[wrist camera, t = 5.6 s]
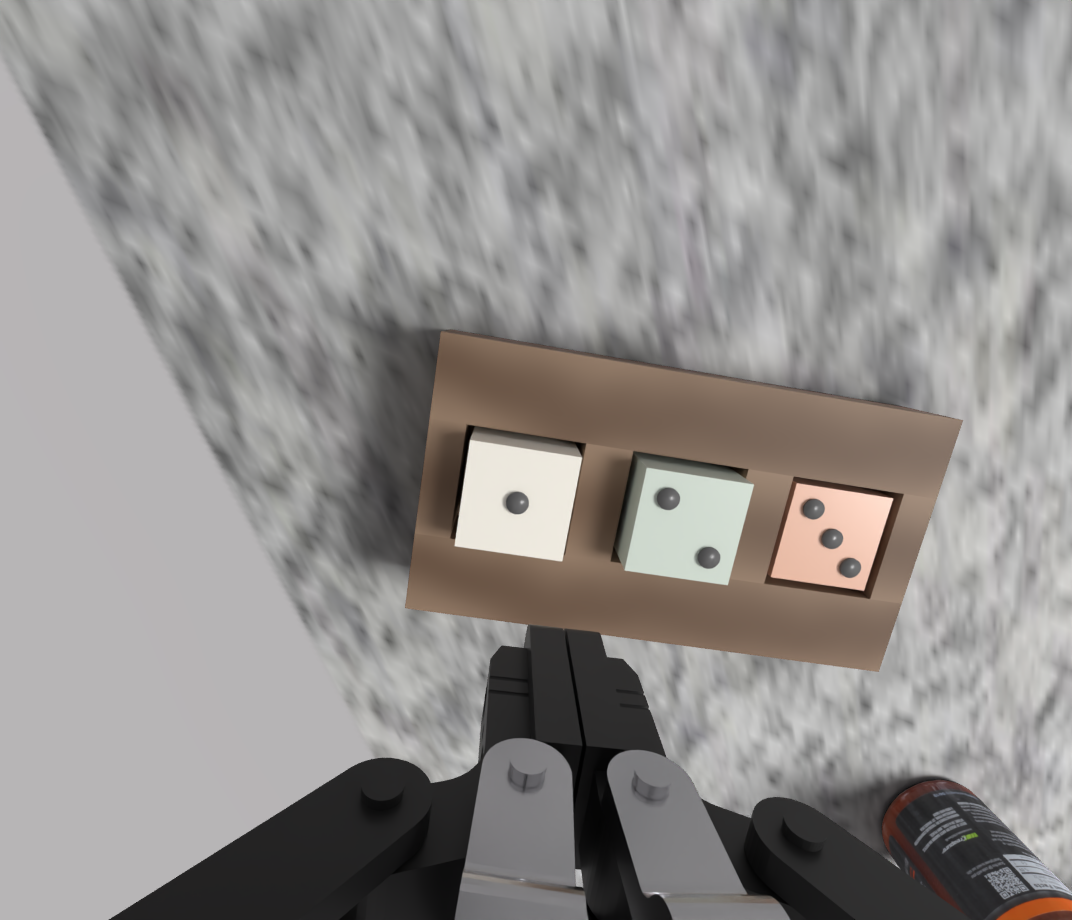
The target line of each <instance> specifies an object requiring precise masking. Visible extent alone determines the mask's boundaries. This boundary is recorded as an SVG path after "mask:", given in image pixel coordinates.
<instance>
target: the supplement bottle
mask: <svg viewBox="0 0 1072 920" xmlns="http://www.w3.org/2000/svg"><path fill="white" fill-rule="evenodd" d="M882 836H883V840H884V843H885V846H886V848H887V849H888V851H889V852H890V854H891V855H892V857H893V859H894V860H895V862H896V863H897V865H898V866H899V868H900V869H901V870H902V871H904V872H905V873H906V874H908V875H909V876H911V877H912V878H913V879H915V880H916V881H918V882H919V883H921V884H922V885H923V886H925V887H926V888H928V889H929V890H930V891H932V892H933V893H935V894H936V895H937V896H939V897H940V898H942V899H943V900H945V901H946V902H947V903H949V904H950V905H952V906H953V907H954V908H956V909H957V910H959V911H960V912H961V913H963V914H964V915H966V916H967V917H969V918H970V919H971V920H1072V892H1071V891H1070V890H1069V889H1068V888H1067V887H1066V886H1065V885H1064V884H1063V883H1062V882H1061V881H1060V880H1059V879H1058V878H1057V877H1056V876H1055V875H1054V874H1053V873H1052V872H1051V871H1050V870H1049V869H1048V868H1047V867H1046V866H1045V865H1044V864H1043V863H1042V862H1041V861H1040V860H1039V859H1038V858H1037V857H1036V856H1035V855H1034V854H1033V853H1032V852H1031V851H1030V850H1029V849H1028V848H1027V847H1026V846H1025V845H1024V844H1023V842H1022V841H1020V840H1019V839H1018V837H1017V836H1016V835H1015V834H1014V833H1012V831H1011V830H1010V829H1009V828H1008V827H1007V826H1006V825H1005V824H1004V823H1003V822H1002V821H1001V820H1000V819H999V818H998V817H997V816H996V815H995V814H994V813H993V812H992V811H991V810H990V809H989V808H988V807H987V806H986V805H985V804H984V803H983V802H982V801H981V800H980V799H979V798H977V796H976V795H974V794H973V793H972V792H971V791H970V790H969V789H967V788H966V787H964V786H962V785H960V784H958V783H954V782H951V781H945V780H933V781H925V782H922V783H919V784H916V785H914V786H912V787H910V788H908V789H907V790H905V791H904V792H902V793H901V794H899V796H898V797H897V798H895V800H894V801H893V802H892V803H891V805H890V806H889V808H888V810H887V812H886V813H885V816H884V819H883V823H882Z"/></svg>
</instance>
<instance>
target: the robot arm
mask: <svg viewBox="0 0 1072 920" xmlns="http://www.w3.org/2000/svg"><path fill="white" fill-rule="evenodd" d="M643 693H644V692H643V689H642V686H641V683H640V680H639V677H638V675H637V674H636V673H635V672H634V671H633V669H632V668H631V667H630V666H629V665H628V664H627V663H626V662H625V661H624V660H623V659H618V658H609V657H607V656H606V653H605V649H604V645H603V642H602V638H601V635H600V633H599V632H594V631H585V630H576V629H568V628H565V629H564V630H563V628H558V627H549V626H541V625H532V624H529V625H528V627H527V632H526V637H525V644H524V648H519V647H510V646H501V647H500V648H499V649H498V651H497V652H496V653H495V654H494V655H493V657H492V658H491V660H490V666H489V673H488V680H487V687H486V694H485V701H484V707H483V714H482V721H481V732H480V746H479V760H478V764H477V765H476V766H475V767H474V768H473V769H471V770H470V771H469V772H467V773H465V774H463V775H462V776H459V777H457V778H454V779H451V780H446V781H441V782H436V783H430V781H429V778H428V777H427V776H426V774H425V773H424V772H423V771H422V770H421V769H420V768H418V767H417V766H415V765H414V764H411V763H409V762H407V761H404V760H400V759H394V758H377V759H371V760H367V761H364V762H361V763H359V764H357V765H355V766H353V767H351V768H349V769H348V770H346V771H345V772H343V773H341V774H340V775H338V776H337V777H335V778H334V779H332V780H330V781H329V782H327V783H325V784H324V785H322V786H321V787H319V788H318V789H316V790H314V791H313V792H311V793H310V794H308V795H306V796H305V797H303V798H302V799H300V800H298V801H297V802H295V803H294V804H292V805H290V806H289V807H287V808H286V809H284V810H283V811H281V812H280V813H278V814H276V815H275V816H273V817H271V818H270V819H269V820H267V821H265V822H263V823H262V824H260V825H259V826H257V827H256V828H254V829H253V830H251V831H249V832H248V833H246V834H244V835H243V836H241V837H240V838H238V839H236V840H235V841H233V842H232V843H230V844H229V845H227V846H225V847H224V848H222V849H221V850H219V851H217V852H216V853H214V854H213V855H211V856H209V857H208V858H207V859H205V860H203V861H201V862H200V863H198V864H197V865H195V866H194V867H192V868H190V869H189V870H187V871H186V872H184V873H182V874H181V875H179V876H178V877H176V878H175V879H173V880H171V881H170V882H168V883H166V884H165V885H163V886H162V887H160V888H159V889H157V890H156V891H154V892H152V893H151V894H149V895H147V896H146V897H144V898H143V899H141V900H139V901H138V902H136V903H135V904H133V905H132V906H130V907H128V908H127V909H125V910H124V911H122V912H120V913H119V914H117V915H116V916H114V917H112V918H111V919H109V920H971V919H970V918H969V917H967V916H966V915H964V914H963V913H961V912H960V911H959V910H957V909H956V908H954V907H953V906H952V905H950V904H949V903H947V902H946V901H945V900H943V899H942V898H940V897H939V896H937V895H936V894H935V893H933V892H932V891H930V890H929V889H928V888H926V887H925V886H923V885H922V884H921V883H919V882H918V881H916V880H915V879H913V878H912V877H911V876H909V875H908V874H906V873H905V872H904V871H902V870H901V869H899V868H898V867H896V866H895V865H894V864H892V863H891V862H889V861H888V860H887V859H885V858H884V857H882V856H881V855H880V854H878V853H877V852H875V851H874V850H872V849H871V848H870V847H868V846H867V845H865V844H864V843H863V842H861V841H860V840H858V839H857V838H856V837H854V836H853V835H851V834H850V833H848V832H847V831H846V830H844V829H843V828H841V827H840V826H839V825H837V824H836V823H834V822H833V821H831V820H830V819H829V818H827V817H826V816H824V815H823V814H821V813H820V812H818V811H817V810H815V809H813V808H811V807H810V806H808V805H806V804H803V803H801V802H798V801H795V800H792V799H787V798H781V797H773V798H767V799H764V800H762V801H760V802H759V803H758V804H757V805H756V806H755V808H754V810H753V813H752V817H751V818H749V817H746V816H743V815H740V814H737V813H735V812H732V811H729V810H726V809H723V808H720V807H718V806H715V805H713V804H710V803H708V802H706V801H705V800H703V799H701V798H700V796H699V794H698V792H697V789H696V787H695V785H694V783H693V782H692V780H691V778H690V777H689V776H688V774H687V773H686V772H685V771H684V770H683V769H682V768H681V767H680V766H679V765H677V764H676V763H675V762H673V761H671V760H670V759H668V758H666V755H665V752H664V749H663V746H662V743H661V740H660V737H659V735H658V732H657V729H656V726H655V723H654V720H653V717H652V715H651V712H650V710H649V709H648V707H649V706H648V703H647V700H646V697H645V695H643ZM575 869H580V870H581V871H582V879H583V888H582V887H576V880H575Z"/></svg>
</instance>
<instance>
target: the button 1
mask: <svg viewBox="0 0 1072 920" xmlns="http://www.w3.org/2000/svg"><path fill="white" fill-rule="evenodd" d="M581 461H582V456H581V454H580V452H579V450H578V448H577V446H576V444H575V442H572V441H565V440H559V439H553V438H546V437H540V436H534V435H528V434H521V433H515V432H509V431H502V430H496V429H490V428H484V427H477V426H475V427H474V430H473V433H472V436H471V439H470V444H469V451H468V457H467V464H466V471H465V478H464V485H463V491H462V498H461V505H460V512H459V519H458V526H457V532H456V539H455V546H457V547H464V548H471V549H478V550H485V551H492V552H499V553H506V554H513V555H520V556H527V557H534V558H541V559H548V560H555V561H562V560H563V555H564V550H565V545H566V539H567V534H568V529H569V524H570V519H571V513H572V508H573V503H574V498H575V492H576V487H577V482H578V477H579V472H580V466H581Z"/></svg>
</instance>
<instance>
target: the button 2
mask: <svg viewBox="0 0 1072 920" xmlns="http://www.w3.org/2000/svg"><path fill="white" fill-rule="evenodd" d="M753 487H754V484H753V483H751V482H750V481H748V480H747V479H745V478H744V477H742V476H741V475H740V474H738V473H737V472H735V471H734V470H732V469H731V468H729V467H728V466H723V465H716V464H710V463H704V462H697V461H691V460H685V459H679V458H672V457H666V456H660V455H653V454H647V453H641V452H635V451H633V456H632V460H631V465H630V470H629V475H628V479H627V484H626V489H625V494H624V498H623V503H622V508H621V513H620V517H619V522H618V527H617V532H616V536H615V541H614V548H615V550H616V552H617V555H618V557H619V559H620V561H621V564H622V566H623V568H624V570H625V571H631V572H638V573H645V574H652V575H659V576H666V577H673V578H680V579H687V580H694V581H701V582H708V583H715V584H722V585H728V582H729V579H730V575H731V571H732V567H733V563H734V559H735V556H736V552H737V548H738V544H739V540H740V537H741V533H742V529H743V525H744V521H745V517H746V514H747V510H748V506H749V502H750V498H751V494H752V491H753Z"/></svg>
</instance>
